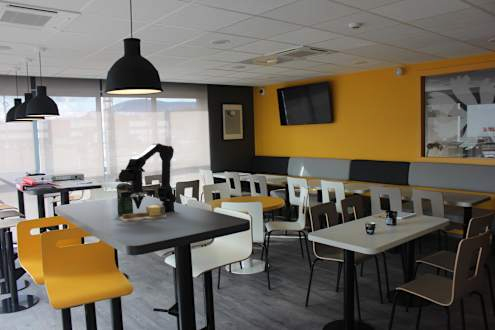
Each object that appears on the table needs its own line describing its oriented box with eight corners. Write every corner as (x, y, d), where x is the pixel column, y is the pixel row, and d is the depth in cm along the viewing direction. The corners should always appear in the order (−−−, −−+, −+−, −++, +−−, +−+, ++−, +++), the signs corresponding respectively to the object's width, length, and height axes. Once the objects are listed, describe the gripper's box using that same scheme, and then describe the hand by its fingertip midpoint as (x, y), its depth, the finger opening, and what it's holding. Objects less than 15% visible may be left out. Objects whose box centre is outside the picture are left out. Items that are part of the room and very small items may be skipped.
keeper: (156, 212, 229) (156, 205, 229) (160, 214, 222) (160, 206, 222) (146, 214, 226) (146, 206, 226) (150, 216, 219) (149, 208, 219)
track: (160, 214, 232) (159, 203, 232) (166, 217, 222) (166, 206, 221) (119, 218, 221) (119, 208, 221) (124, 222, 211) (123, 211, 210)
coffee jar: (135, 214, 234) (133, 183, 233) (122, 216, 229) (120, 184, 228) (128, 212, 241) (127, 182, 240) (116, 214, 236) (114, 183, 235)
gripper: (149, 178, 230) (150, 205, 231) (116, 180, 221) (117, 208, 222) (155, 179, 221) (156, 207, 222) (120, 182, 212) (122, 211, 212)
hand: (138, 208), depth 220 cm, fingers closed
